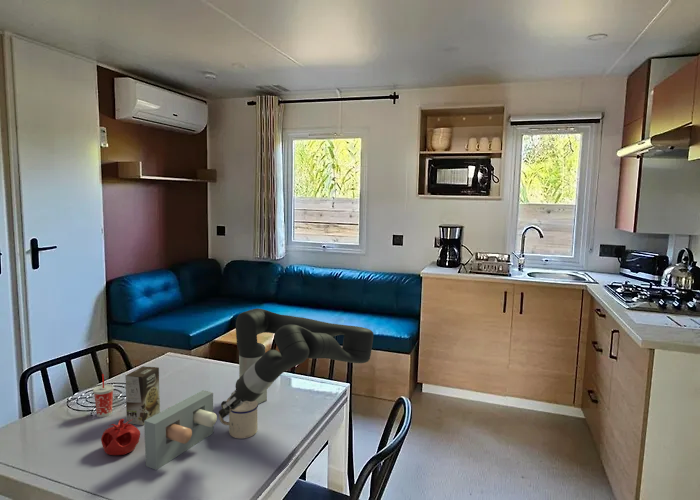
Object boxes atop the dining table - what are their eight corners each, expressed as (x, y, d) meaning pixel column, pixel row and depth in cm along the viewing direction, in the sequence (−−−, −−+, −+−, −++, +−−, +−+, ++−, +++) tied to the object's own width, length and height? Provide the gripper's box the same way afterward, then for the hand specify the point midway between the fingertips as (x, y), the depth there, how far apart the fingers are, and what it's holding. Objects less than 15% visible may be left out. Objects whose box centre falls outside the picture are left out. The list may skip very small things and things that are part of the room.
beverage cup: (90, 415, 150) (88, 375, 148) (107, 408, 155) (105, 369, 154) (101, 420, 147) (99, 378, 146) (118, 412, 152) (117, 372, 151)
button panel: (145, 466, 123) (144, 420, 121) (203, 429, 142) (203, 390, 141) (156, 470, 121) (154, 424, 119) (213, 432, 141) (213, 392, 139)
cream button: (189, 424, 134) (189, 411, 133) (199, 418, 137) (198, 405, 137) (207, 429, 131) (207, 416, 130) (216, 423, 134) (216, 410, 134)
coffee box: (143, 425, 144) (142, 377, 142) (125, 423, 145) (124, 375, 143) (161, 412, 153) (159, 367, 151) (144, 410, 154) (142, 365, 152)
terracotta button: (162, 440, 125) (161, 426, 124) (173, 433, 128) (173, 420, 128) (181, 446, 122) (180, 432, 121) (192, 439, 125) (191, 425, 125)
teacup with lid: (260, 424, 146) (260, 390, 145) (255, 439, 137) (255, 402, 136) (223, 424, 146) (222, 390, 144) (215, 439, 137) (215, 402, 135)
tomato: (114, 440, 135) (112, 411, 134) (146, 441, 135) (145, 411, 134) (94, 459, 125) (92, 426, 125) (129, 459, 125) (128, 427, 124)
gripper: (248, 401, 116) (213, 436, 122) (278, 382, 128) (244, 415, 134) (231, 378, 117) (197, 413, 124) (262, 361, 129) (229, 394, 136)
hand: (222, 414), depth 129 cm, fingers closed
